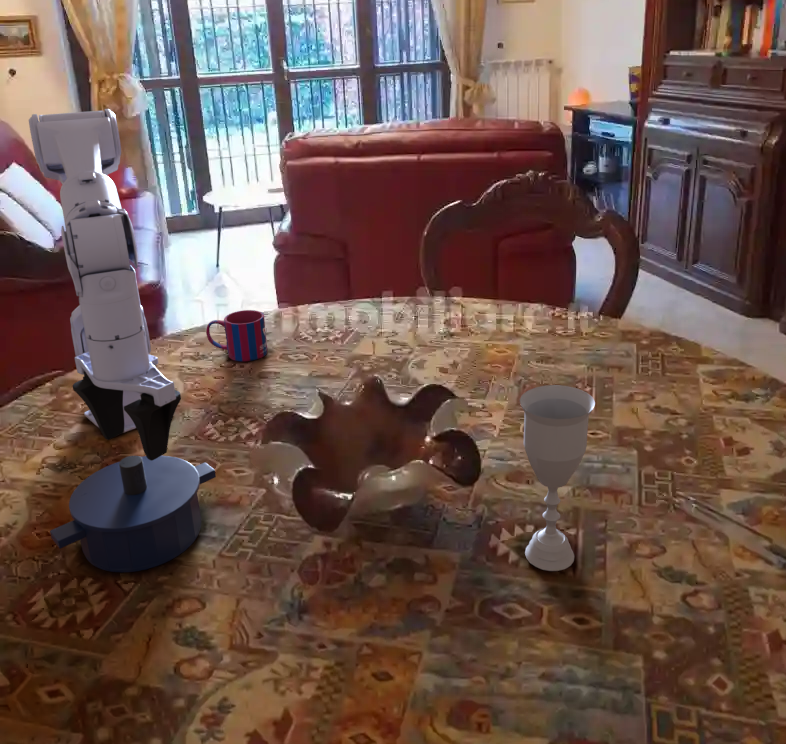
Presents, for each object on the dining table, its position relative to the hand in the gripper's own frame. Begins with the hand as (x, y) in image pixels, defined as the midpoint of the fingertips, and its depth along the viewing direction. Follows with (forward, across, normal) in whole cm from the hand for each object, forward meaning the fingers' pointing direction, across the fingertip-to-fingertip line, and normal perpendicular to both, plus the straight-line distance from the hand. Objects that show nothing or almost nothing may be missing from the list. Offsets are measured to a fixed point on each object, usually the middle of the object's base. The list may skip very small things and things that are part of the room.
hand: (135, 445), depth 82 cm
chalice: (+11, -40, -20) cm, 46 cm away
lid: (+5, -1, +1) cm, 5 cm away
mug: (+11, +27, -39) cm, 48 cm away
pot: (+10, -1, +1) cm, 11 cm away
